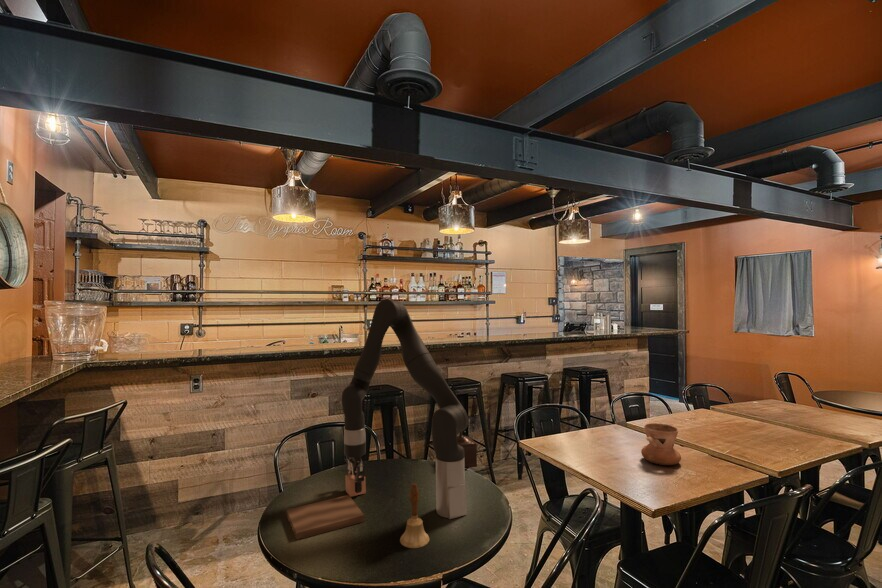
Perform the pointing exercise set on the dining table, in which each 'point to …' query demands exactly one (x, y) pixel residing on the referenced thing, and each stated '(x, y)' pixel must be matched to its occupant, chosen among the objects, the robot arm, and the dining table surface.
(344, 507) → the walnut board
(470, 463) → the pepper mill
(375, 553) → the dining table surface
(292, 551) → the dining table surface
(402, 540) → the hand bell
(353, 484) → the terracotta cube
